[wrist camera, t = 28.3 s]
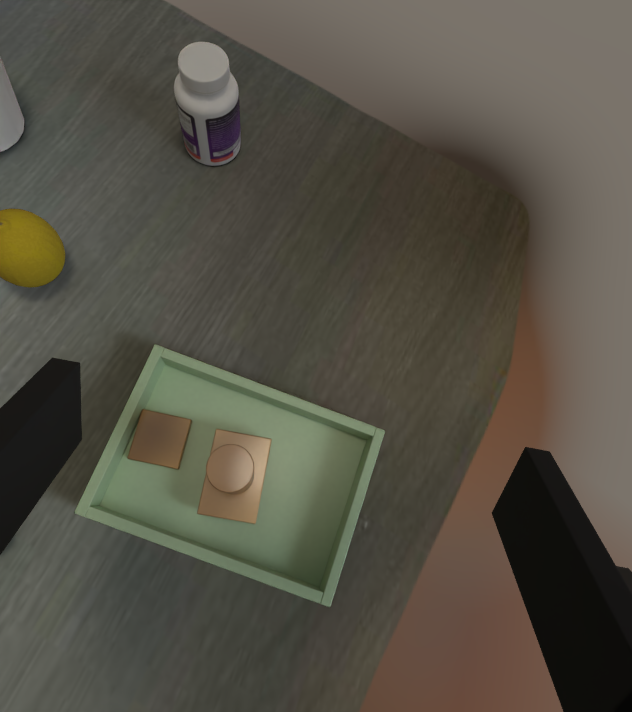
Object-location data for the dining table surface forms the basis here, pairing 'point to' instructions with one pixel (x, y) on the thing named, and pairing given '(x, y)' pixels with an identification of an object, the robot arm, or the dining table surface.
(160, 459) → the flat brown square tile
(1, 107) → the cup
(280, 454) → the tray
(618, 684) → the robot arm
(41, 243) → the lemon
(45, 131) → the dining table surface
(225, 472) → the cylinder on block base
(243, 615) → the dining table surface
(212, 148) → the pill bottle
